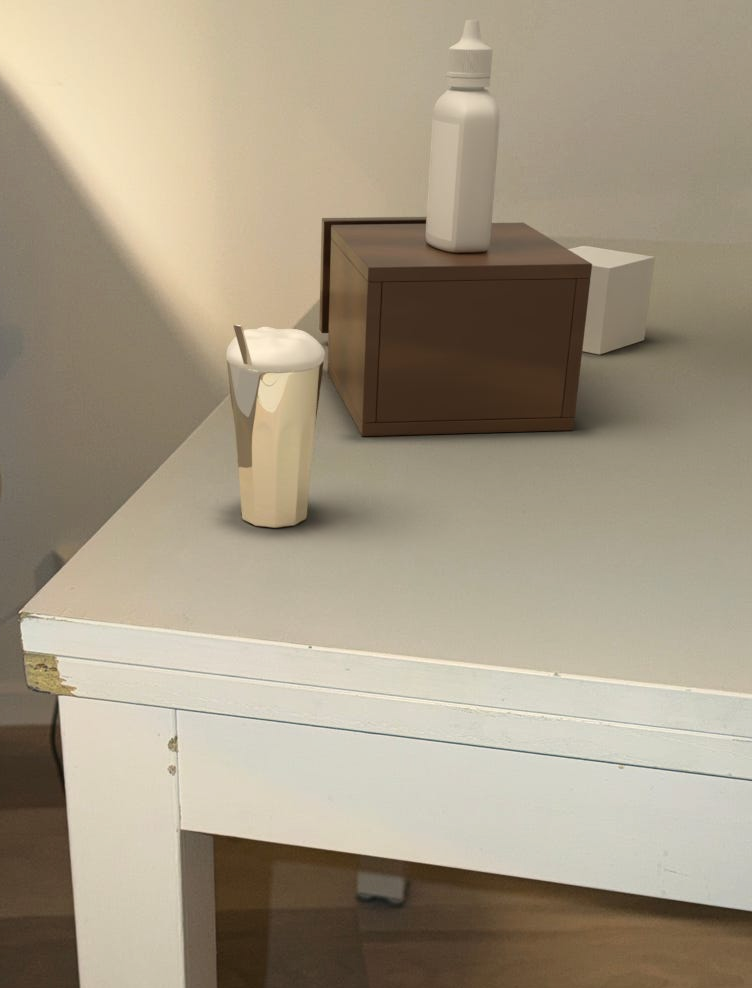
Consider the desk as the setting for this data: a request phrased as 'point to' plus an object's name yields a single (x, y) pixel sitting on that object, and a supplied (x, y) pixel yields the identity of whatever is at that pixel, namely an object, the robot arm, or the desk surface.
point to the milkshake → (274, 420)
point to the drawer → (327, 254)
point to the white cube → (616, 298)
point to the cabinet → (455, 331)
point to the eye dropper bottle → (463, 150)
